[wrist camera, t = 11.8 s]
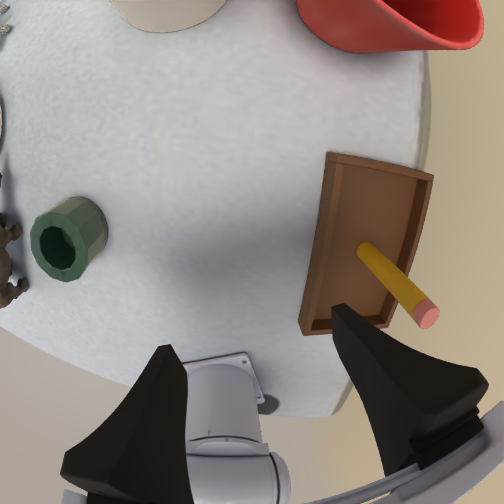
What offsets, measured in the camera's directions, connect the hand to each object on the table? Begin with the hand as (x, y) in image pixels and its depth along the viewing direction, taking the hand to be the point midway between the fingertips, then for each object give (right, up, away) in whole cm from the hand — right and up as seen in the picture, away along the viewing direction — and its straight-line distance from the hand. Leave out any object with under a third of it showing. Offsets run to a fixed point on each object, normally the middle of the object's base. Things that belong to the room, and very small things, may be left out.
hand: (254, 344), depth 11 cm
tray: (+9, +4, +11) cm, 15 cm away
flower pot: (+7, +22, +2) cm, 23 cm away
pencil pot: (-14, +6, +7) cm, 17 cm away
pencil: (+9, +4, +10) cm, 14 cm away
